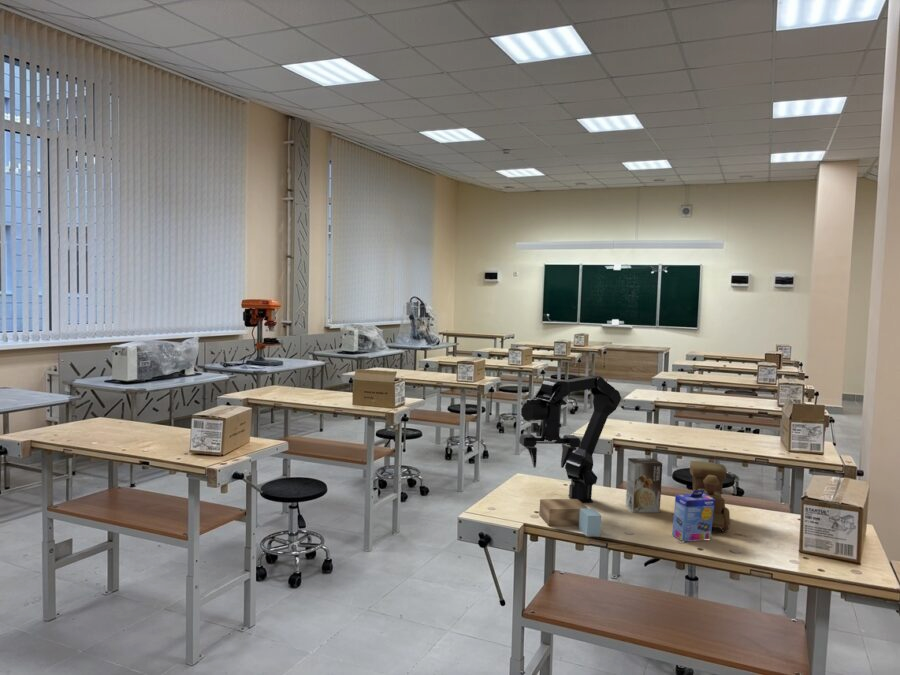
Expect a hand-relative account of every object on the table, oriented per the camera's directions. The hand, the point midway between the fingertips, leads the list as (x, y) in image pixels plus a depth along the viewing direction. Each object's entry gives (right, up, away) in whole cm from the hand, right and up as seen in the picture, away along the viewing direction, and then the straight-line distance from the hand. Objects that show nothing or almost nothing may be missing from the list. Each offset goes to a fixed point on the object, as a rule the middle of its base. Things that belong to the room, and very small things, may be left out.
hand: (548, 467), depth 198 cm
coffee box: (+31, -14, +2) cm, 34 cm away
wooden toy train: (+47, -16, -7) cm, 50 cm away
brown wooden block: (+3, -13, -12) cm, 18 cm away
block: (+8, -11, -18) cm, 23 cm away
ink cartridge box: (+38, -16, -21) cm, 46 cm away
